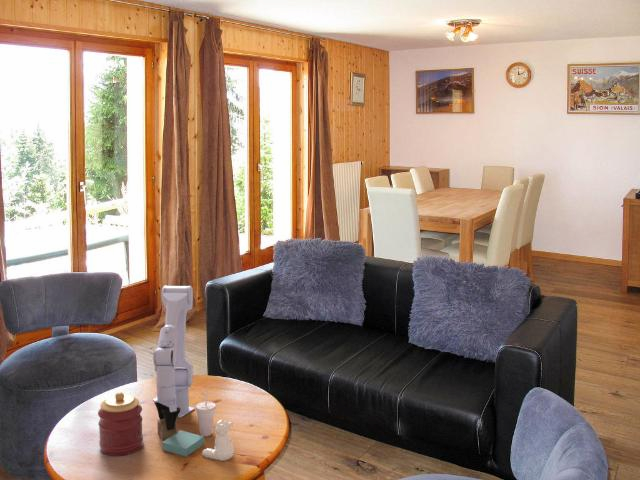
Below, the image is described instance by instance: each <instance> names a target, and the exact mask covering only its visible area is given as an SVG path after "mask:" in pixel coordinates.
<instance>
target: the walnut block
mask: <svg viewBox="0 0 640 480" xmlns="http://www.w3.org/2000/svg"><path fill="white" fill-rule="evenodd" d="M156 422H157V423H156V424H157V435H158V437H159V438H160V440H161V441H162V442H163V441H165V440H166V439H168V438H169V437H171V436H172V435H174V434H176V433H177V432H178V429H177V428H178V426H177V425H178V423H177V422H176V423H175V427H174V429H172V430H167V427H166V422H165V419H157V421H156Z"/></svg>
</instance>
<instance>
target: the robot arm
mask: <svg viewBox="0 0 640 480" xmlns="http://www.w3.org/2000/svg"><path fill="white" fill-rule="evenodd" d="M160 294H161V296H160V297H161V299H160V300H161V302H162V304H163V307H164V308H165V319H164V320H165V321H164V326H163V327H161V328H160V331H159V337H158V342H157V348H155V349H153V350H154V351H153V357H152V358H153V366H154V372H155V375H156V378H155V380H156V381H155V382H156V397H155V398H152V401H153V403H154V405H155V407H156V408H155V409H156V410H157V414H158V418H159V419H158V420H160V419H165V422H166V427H167V430H172V429H174V427H175V423H177V418H179V419H181V418H183V417H184V416H186V415H188V414H190V413H191V412H192V411H194V410H195V407H193V406H190V399H189V398H190V396H189V395H190V394H189V393H190V392H189V391H190V390H189V388H191V387H192V385H193V382H194V372H193V371H194V370H193V366H194V365H193V364H192V363H191V362H190V361H189V360H187V359H186V357H185V356H186V332H187V331H186V330H187V329H186V328H187V313H188V311H191V310H192V309H193V305H194V300H193V299H194V289H193V287H192V285H164V286H163V287H162V288H161V293H160Z"/></svg>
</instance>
